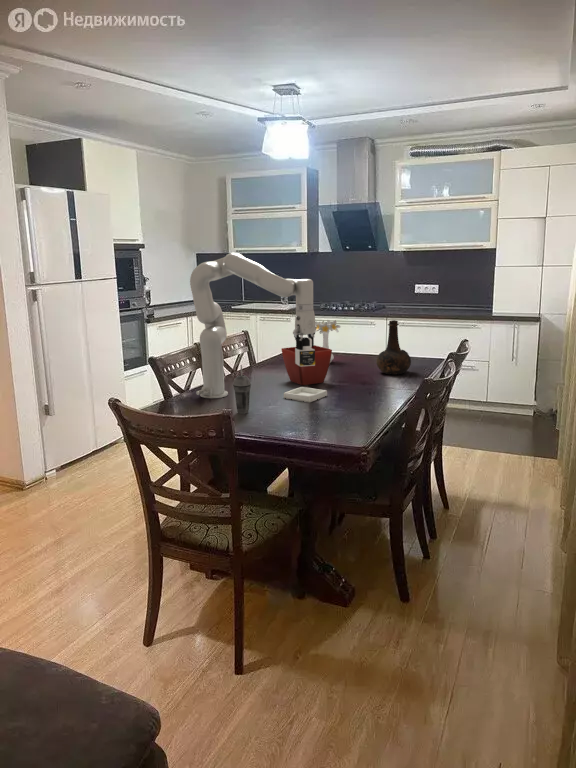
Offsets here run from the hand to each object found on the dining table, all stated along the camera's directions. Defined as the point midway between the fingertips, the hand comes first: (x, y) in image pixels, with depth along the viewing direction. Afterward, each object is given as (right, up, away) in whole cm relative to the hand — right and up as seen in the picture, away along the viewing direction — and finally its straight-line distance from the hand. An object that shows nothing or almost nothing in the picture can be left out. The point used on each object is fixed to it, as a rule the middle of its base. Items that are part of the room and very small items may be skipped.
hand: (305, 347), depth 256 cm
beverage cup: (-26, -28, -18) cm, 42 cm away
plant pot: (+2, -15, +35) cm, 38 cm away
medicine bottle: (0, -8, +2) cm, 8 cm away
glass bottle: (+48, -10, +53) cm, 72 cm away
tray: (0, -22, +5) cm, 22 cm away
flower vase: (+14, -4, +85) cm, 86 cm away
